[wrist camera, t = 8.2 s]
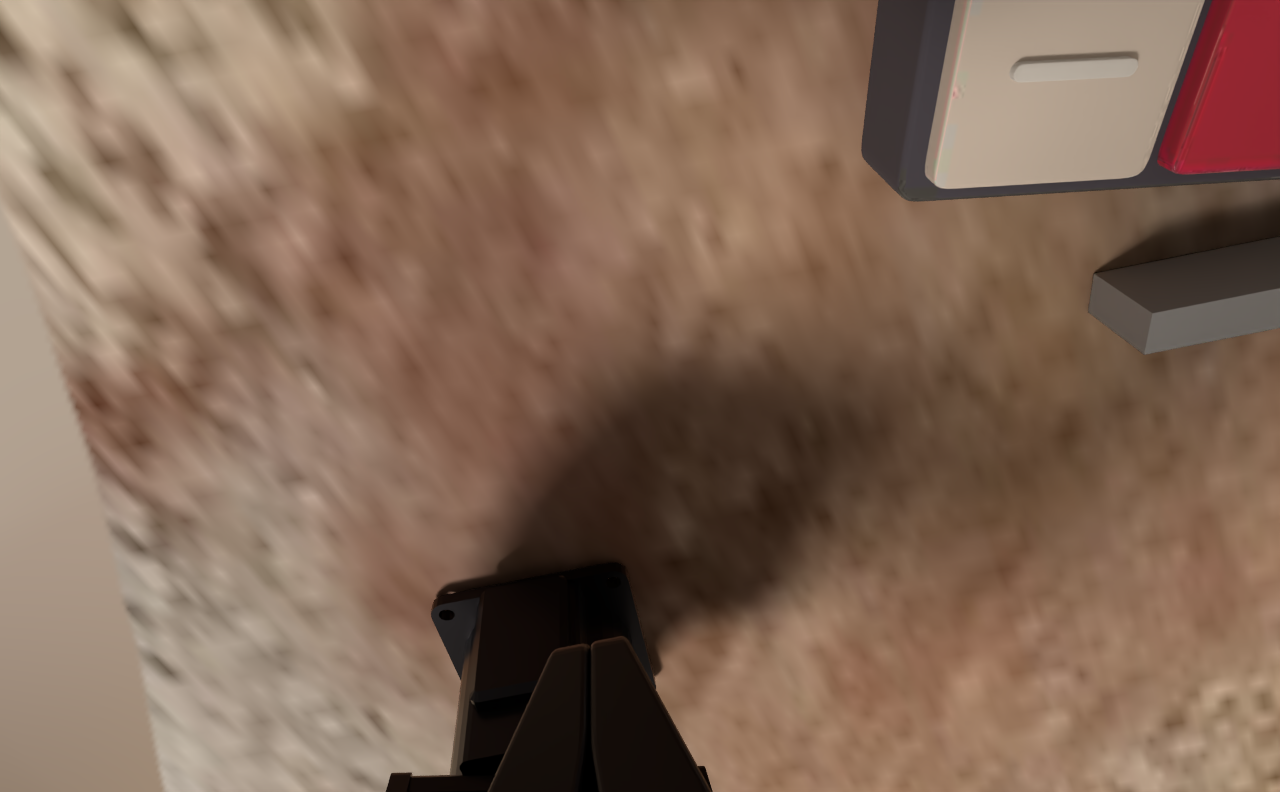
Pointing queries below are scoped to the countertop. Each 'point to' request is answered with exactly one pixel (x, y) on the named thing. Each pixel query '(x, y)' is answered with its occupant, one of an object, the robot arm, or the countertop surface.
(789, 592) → the countertop surface
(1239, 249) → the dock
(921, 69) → the calculator
